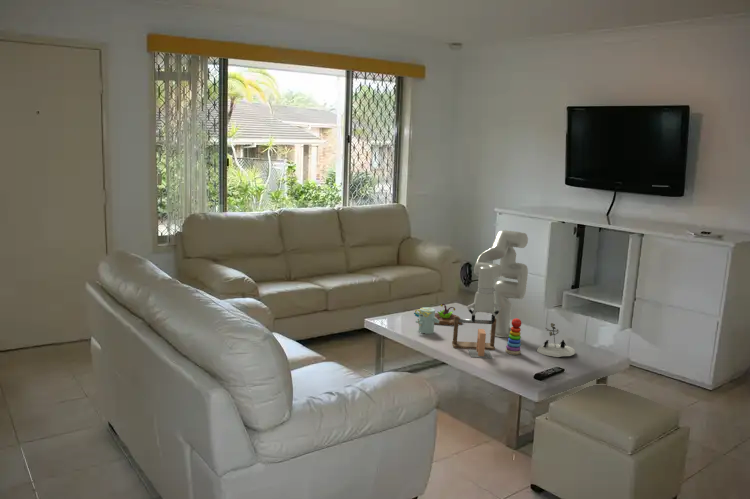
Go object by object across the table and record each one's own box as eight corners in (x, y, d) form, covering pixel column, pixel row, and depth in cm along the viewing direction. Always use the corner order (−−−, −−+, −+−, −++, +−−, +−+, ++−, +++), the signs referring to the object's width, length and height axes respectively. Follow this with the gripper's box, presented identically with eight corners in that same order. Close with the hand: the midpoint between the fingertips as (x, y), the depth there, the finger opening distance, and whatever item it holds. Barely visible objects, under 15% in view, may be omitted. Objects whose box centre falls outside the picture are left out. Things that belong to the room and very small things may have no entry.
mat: (489, 351, 336) (489, 350, 336) (492, 358, 325) (492, 357, 325) (468, 350, 336) (468, 349, 336) (470, 357, 325) (470, 356, 325)
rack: (492, 345, 346) (494, 316, 343) (494, 350, 338) (497, 320, 335) (452, 343, 346) (454, 314, 344) (453, 347, 338) (455, 318, 336)
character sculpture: (405, 329, 368) (406, 306, 365) (418, 326, 375) (420, 304, 373) (430, 338, 353) (432, 314, 351) (444, 334, 361) (445, 311, 359)
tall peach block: (482, 351, 334) (483, 329, 332) (484, 356, 326) (485, 333, 324) (476, 350, 334) (478, 328, 332) (478, 355, 327) (479, 333, 324)
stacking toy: (511, 356, 330) (515, 321, 327) (502, 351, 337) (505, 317, 334) (523, 354, 333) (527, 319, 330) (513, 349, 340) (516, 315, 337)
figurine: (578, 349, 342) (578, 320, 340) (571, 359, 327) (570, 329, 325) (541, 346, 352) (541, 317, 350) (532, 355, 337) (531, 325, 334)
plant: (425, 316, 398) (426, 299, 396) (456, 317, 400) (457, 299, 398) (432, 326, 378) (433, 307, 376) (464, 326, 380) (465, 308, 378)
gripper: (500, 289, 328) (498, 320, 332) (467, 287, 328) (465, 319, 332) (503, 293, 321) (501, 325, 324) (469, 291, 321) (467, 324, 325)
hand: (482, 322), depth 328 cm, fingers open, 9 cm apart
